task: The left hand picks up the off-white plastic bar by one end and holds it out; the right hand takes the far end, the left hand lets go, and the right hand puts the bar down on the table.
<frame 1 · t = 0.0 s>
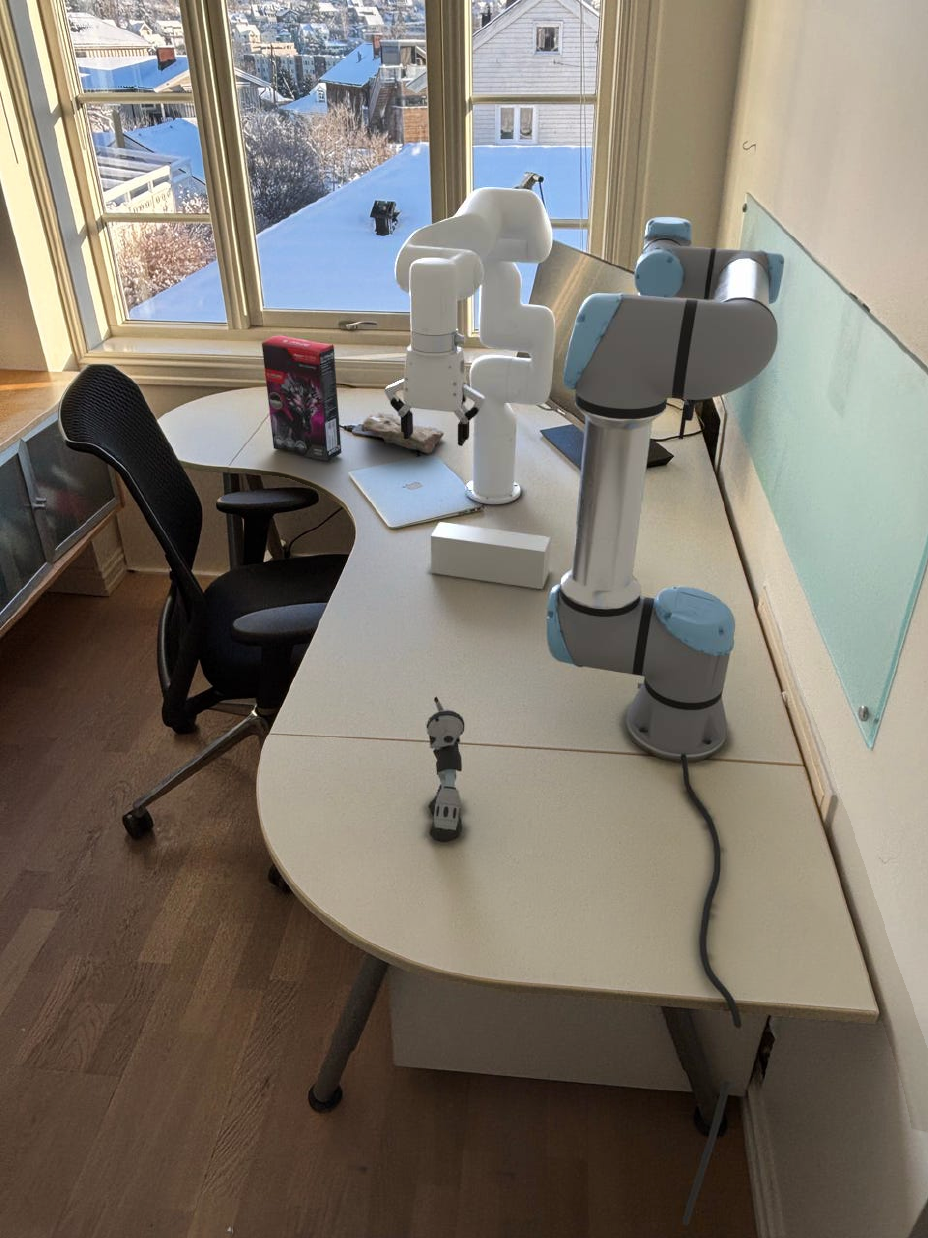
left hand: (435, 439, 158), 31 cm above the table, tool pointing down, fingers open, 9 cm apart
right hand: (643, 432, 170), 28 cm above the table, tool pointing down, fingers open, 13 cm apart
stone: (399, 442, 235), on the table
graphics card box: (307, 452, 230), on the table
bar: (489, 573, 182), on the table
robot: (445, 820, 127), on the table
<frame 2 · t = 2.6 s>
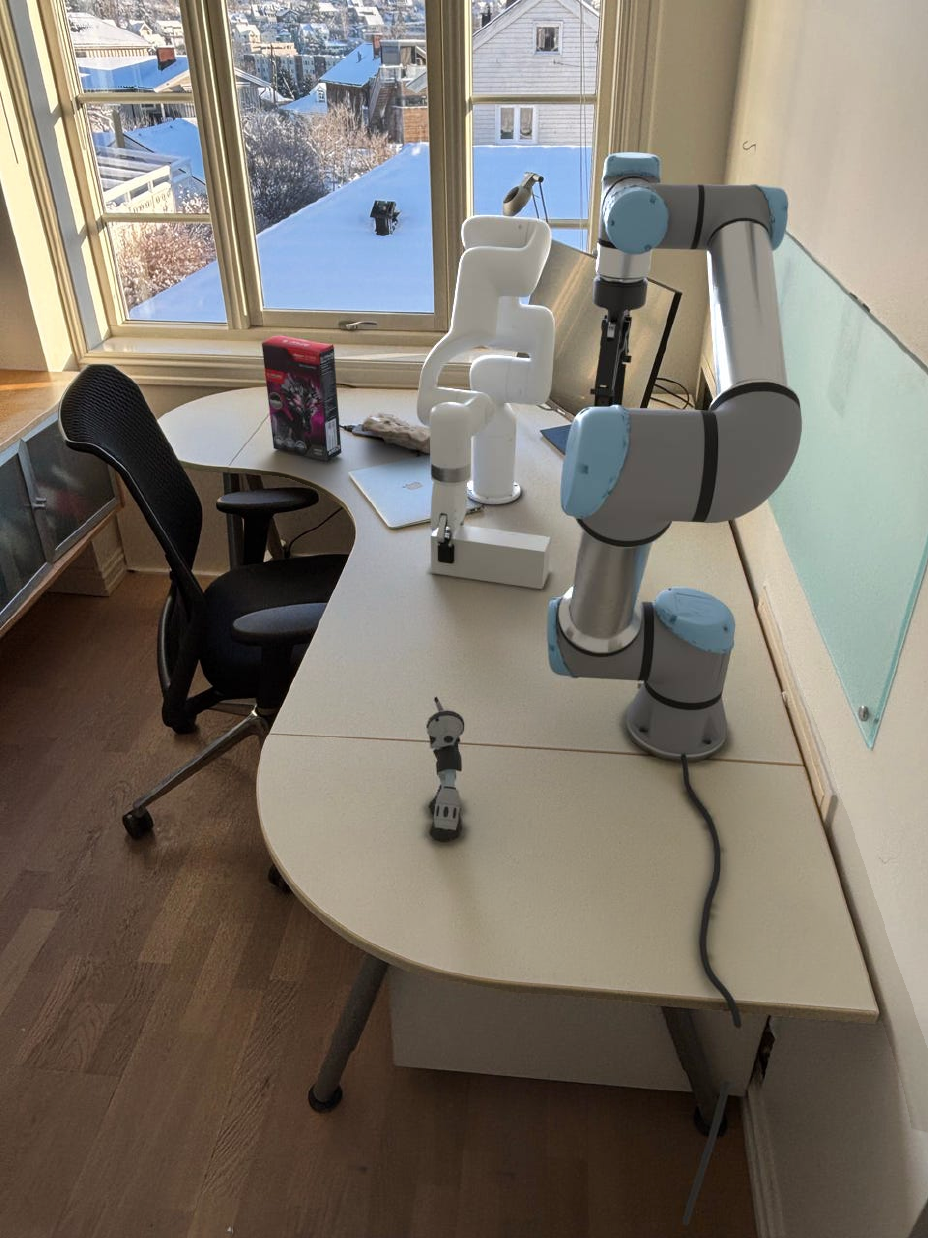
left hand: (450, 553, 182), 3 cm above the table, tool pointing down, fingers closed on bar, 6 cm apart
right hand: (607, 419, 141), 41 cm above the table, tool pointing down, fingers open, 13 cm apart
bar: (489, 573, 182), on the table, touching left hand
everything else where it was.
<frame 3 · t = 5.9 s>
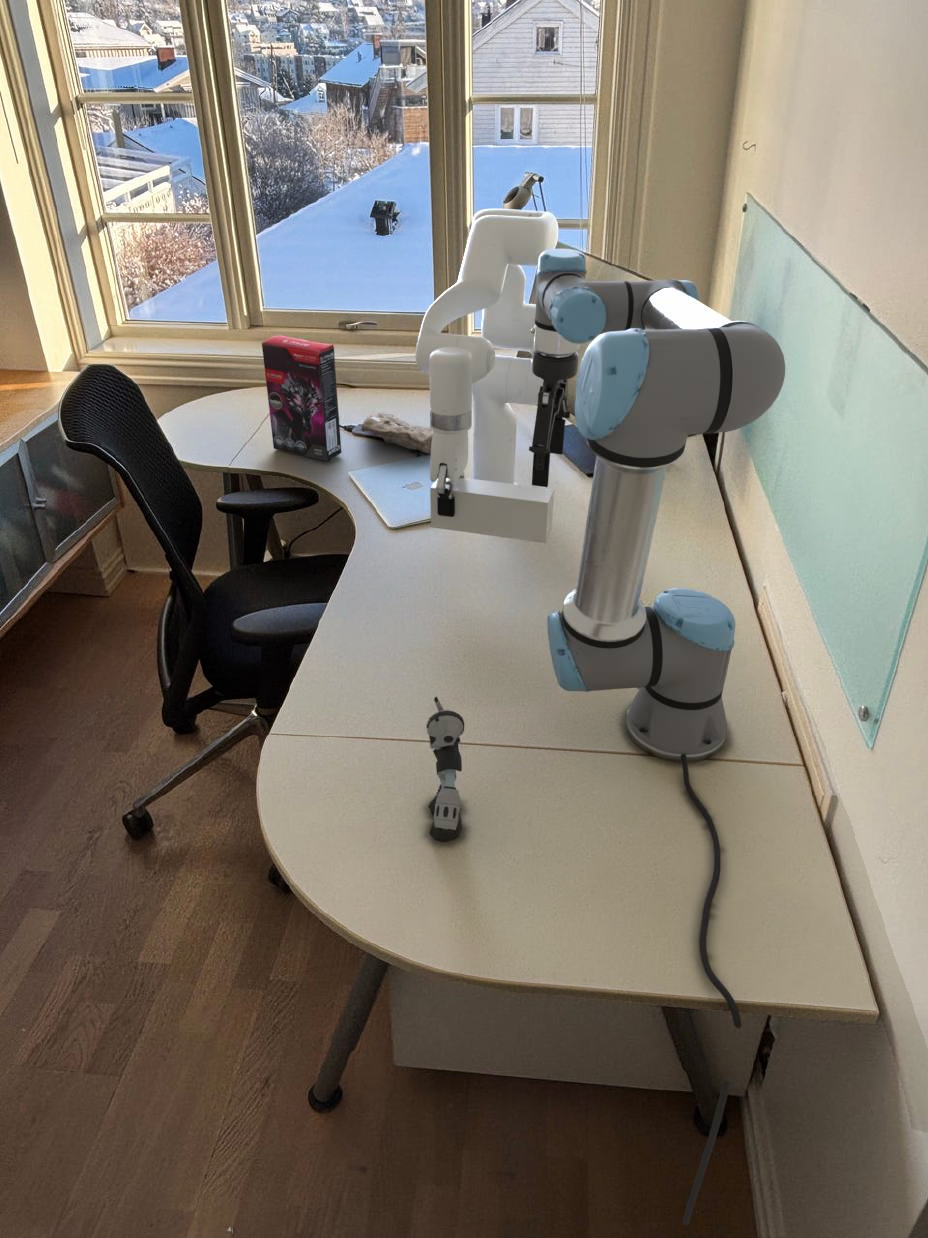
left hand: (451, 506, 176), 13 cm above the table, tool pointing down, fingers closed on bar, 6 cm apart
right hand: (547, 468, 163), 25 cm above the table, tool pointing down, fingers open, 13 cm apart
bar: (491, 527, 176), point 10 cm above the table, touching left hand
everything else where it was.
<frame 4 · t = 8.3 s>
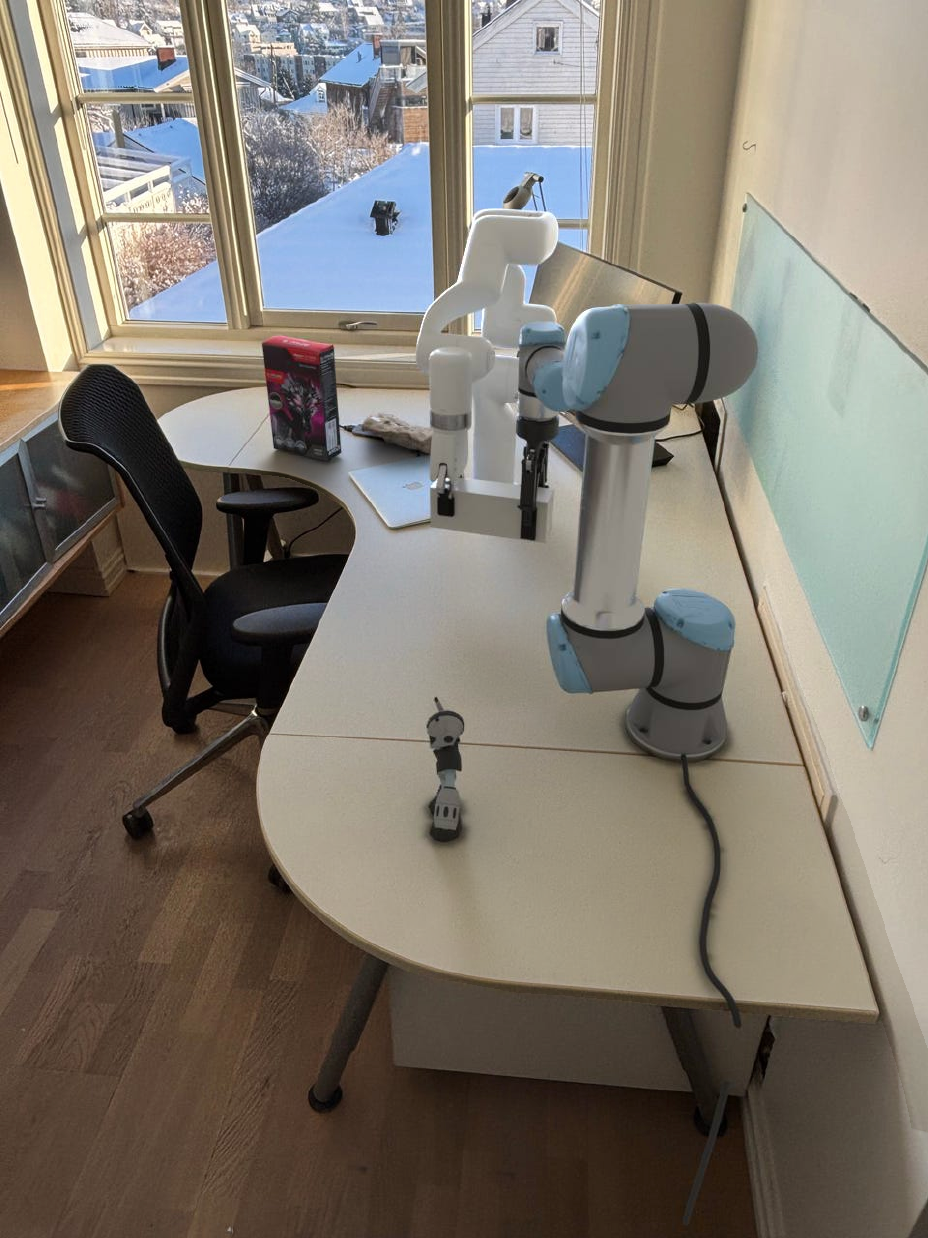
left hand: (450, 506, 176), 14 cm above the table, tool pointing down, fingers closed on bar, 6 cm apart
right hand: (531, 530, 174), 11 cm above the table, tool pointing down, fingers closed on bar, 6 cm apart
bar: (491, 527, 176), point 10 cm above the table, touching right hand, left hand
everything else where it was.
when the left hand's fingers open (14 cm above the table, at t = 9.3 s): bar stays where it is, held by the right hand.
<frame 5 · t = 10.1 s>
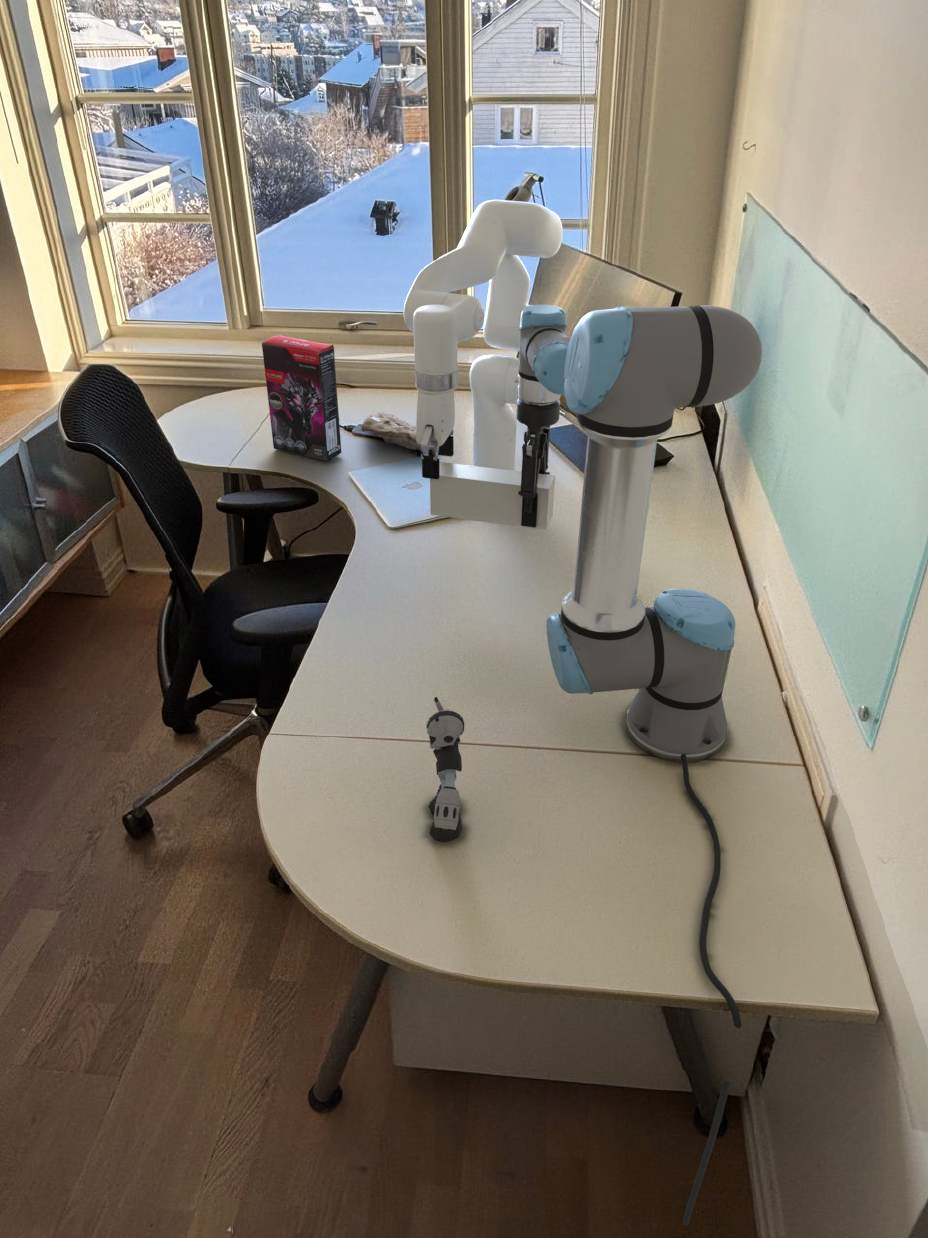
left hand: (438, 466, 173), 21 cm above the table, tool pointing down, fingers open, 9 cm apart
right hand: (532, 517, 173), 14 cm above the table, tool pointing down, fingers closed on bar, 6 cm apart
bar: (491, 515, 175), point 13 cm above the table, touching right hand
everything else where it was.
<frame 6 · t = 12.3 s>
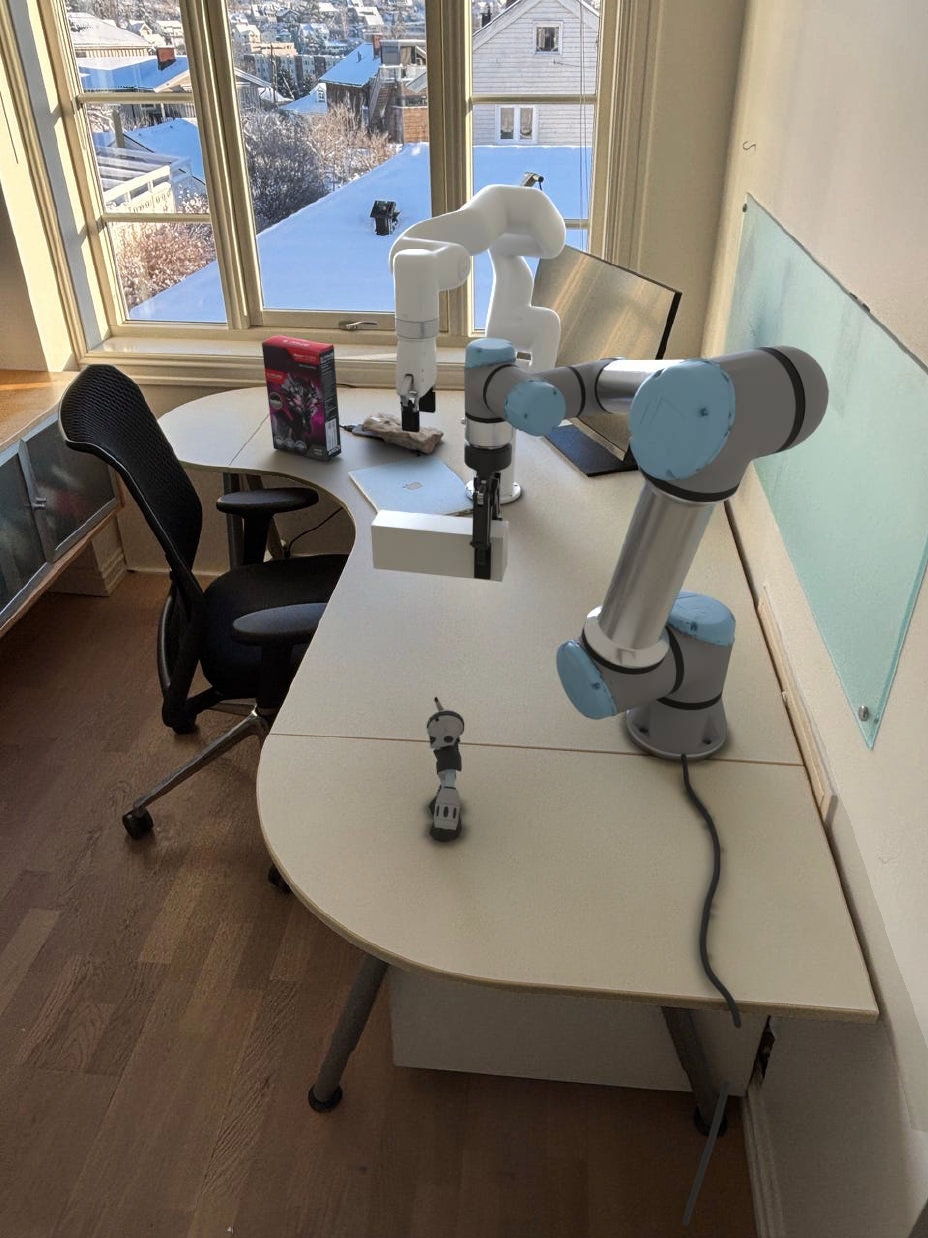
left hand: (419, 421, 168), 30 cm above the table, tool pointing down, fingers open, 9 cm apart
right hand: (485, 567, 157), 14 cm above the table, tool pointing down, fingers closed on bar, 6 cm apart
bar: (440, 566, 159), point 13 cm above the table, touching right hand
everything else where it was.
when the right hand's fingers open (2 cm above the table, at t = 16.2 s): bar drops 1 cm, on the table.
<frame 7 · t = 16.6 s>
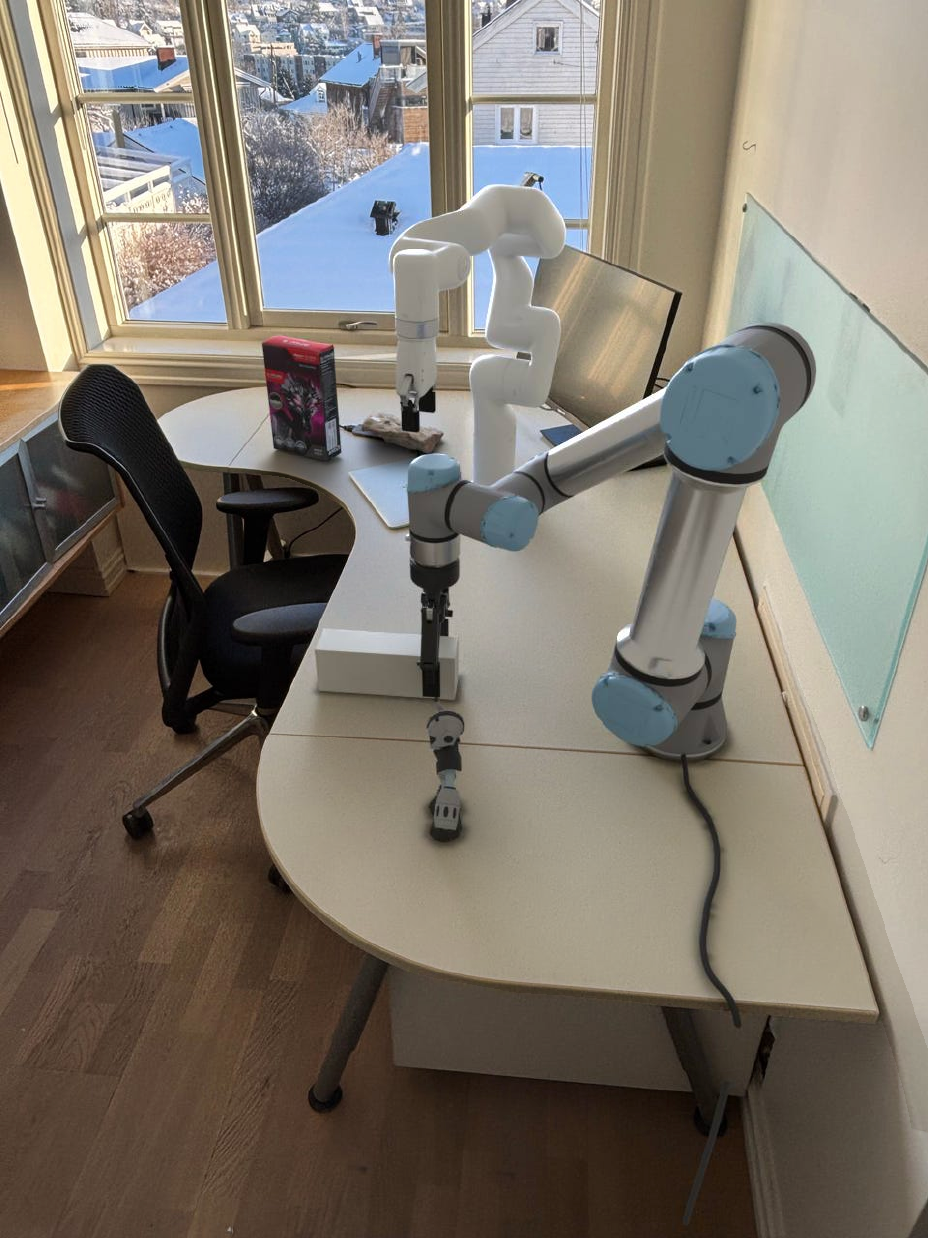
left hand: (419, 421, 168), 30 cm above the table, tool pointing down, fingers open, 9 cm apart
right hand: (436, 673, 150), 3 cm above the table, tool pointing down, fingers open, 11 cm apart
bar: (389, 684, 152), on the table
everything else where it was.
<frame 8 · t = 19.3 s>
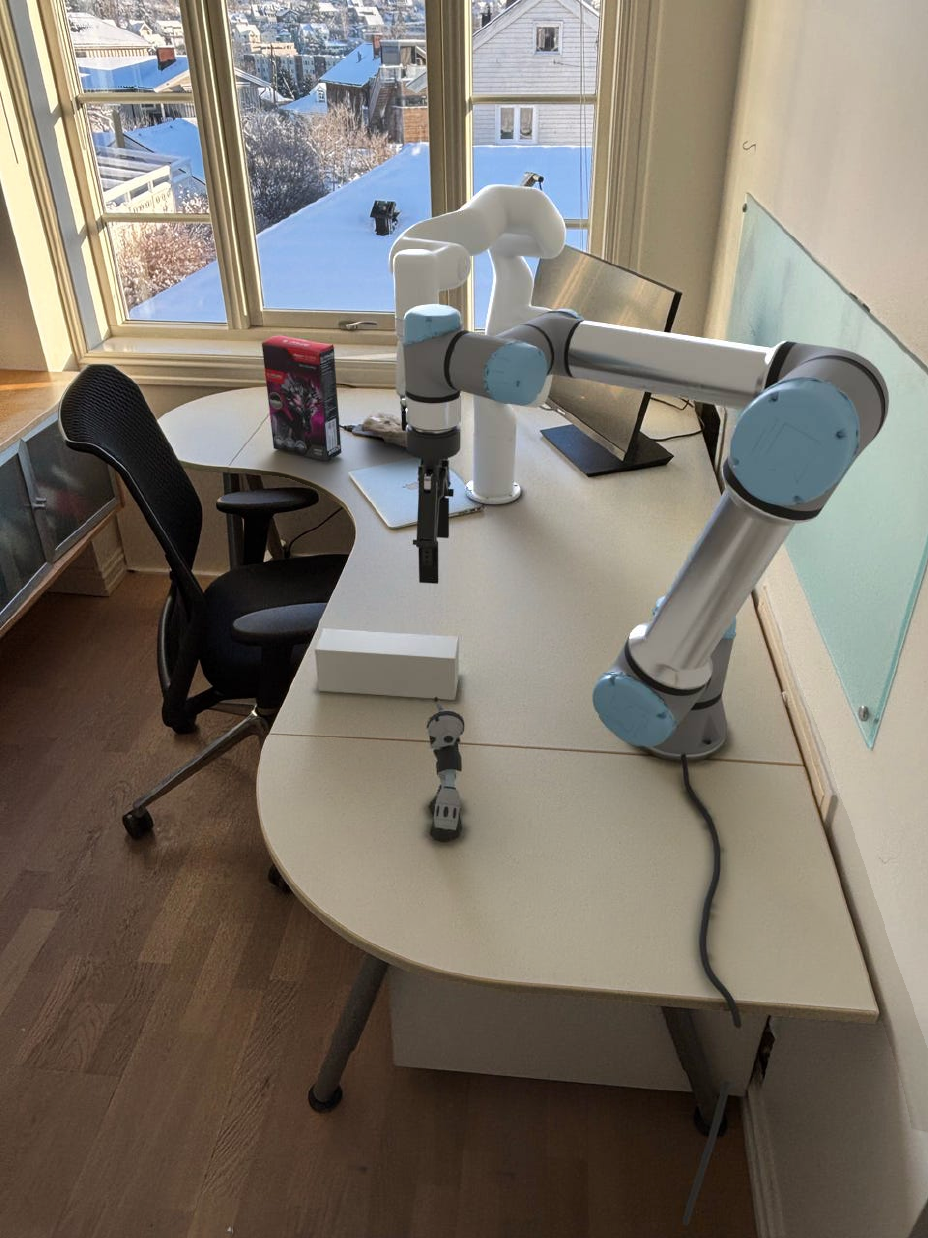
left hand: (419, 421, 168), 30 cm above the table, tool pointing down, fingers open, 9 cm apart
right hand: (434, 558, 138), 24 cm above the table, tool pointing down, fingers open, 13 cm apart
nothing on the table moved.
at the end: bar inside the target area (7.8 cm from its centre), on the table; the left hand is holding nothing; the right hand is holding nothing; bar at rest at the end (0.0 cm/s) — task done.
